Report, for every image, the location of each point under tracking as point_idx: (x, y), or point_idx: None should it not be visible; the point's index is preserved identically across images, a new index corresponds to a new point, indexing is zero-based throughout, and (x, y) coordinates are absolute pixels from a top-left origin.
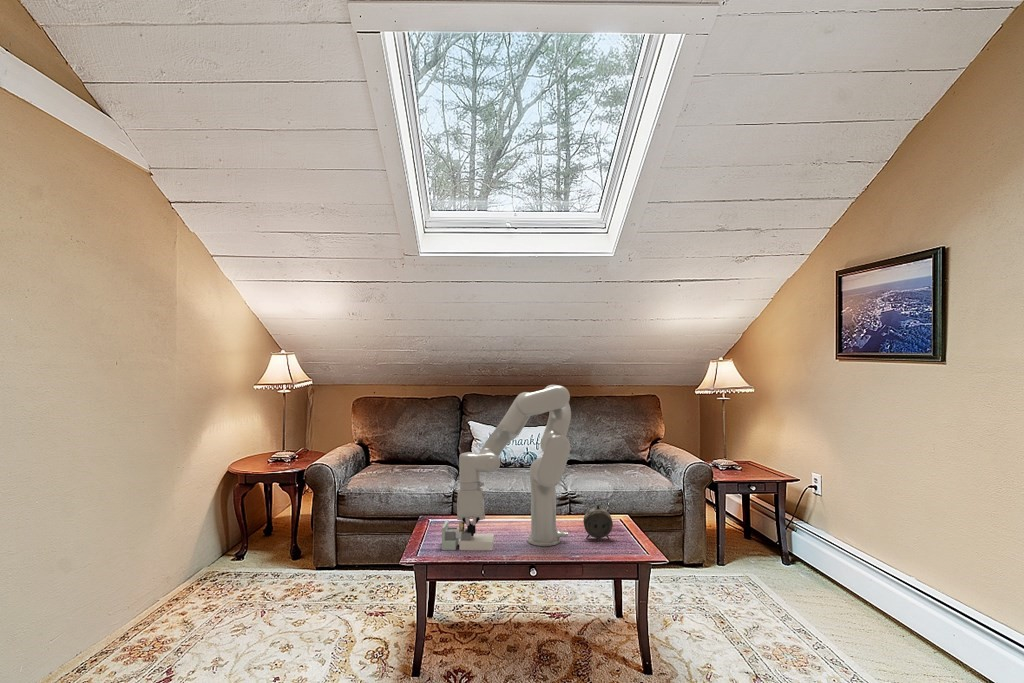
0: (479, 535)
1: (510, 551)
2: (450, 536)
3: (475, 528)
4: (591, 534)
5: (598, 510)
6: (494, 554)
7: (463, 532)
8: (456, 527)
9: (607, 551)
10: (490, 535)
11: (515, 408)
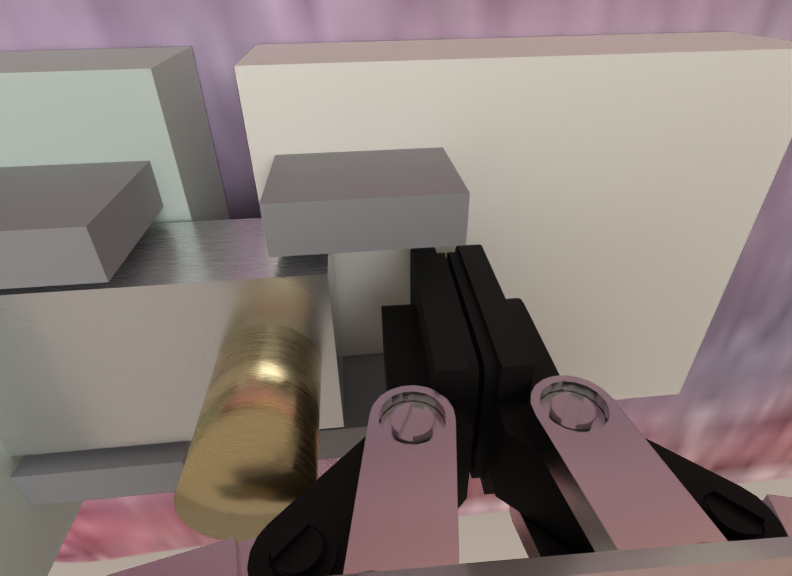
0: (558, 160)
1: (788, 339)
2: None
3: (537, 340)
4: None
5: None
6: (630, 410)
7: (327, 423)
8: (89, 260)
9: None
10: (738, 144)
11: None
